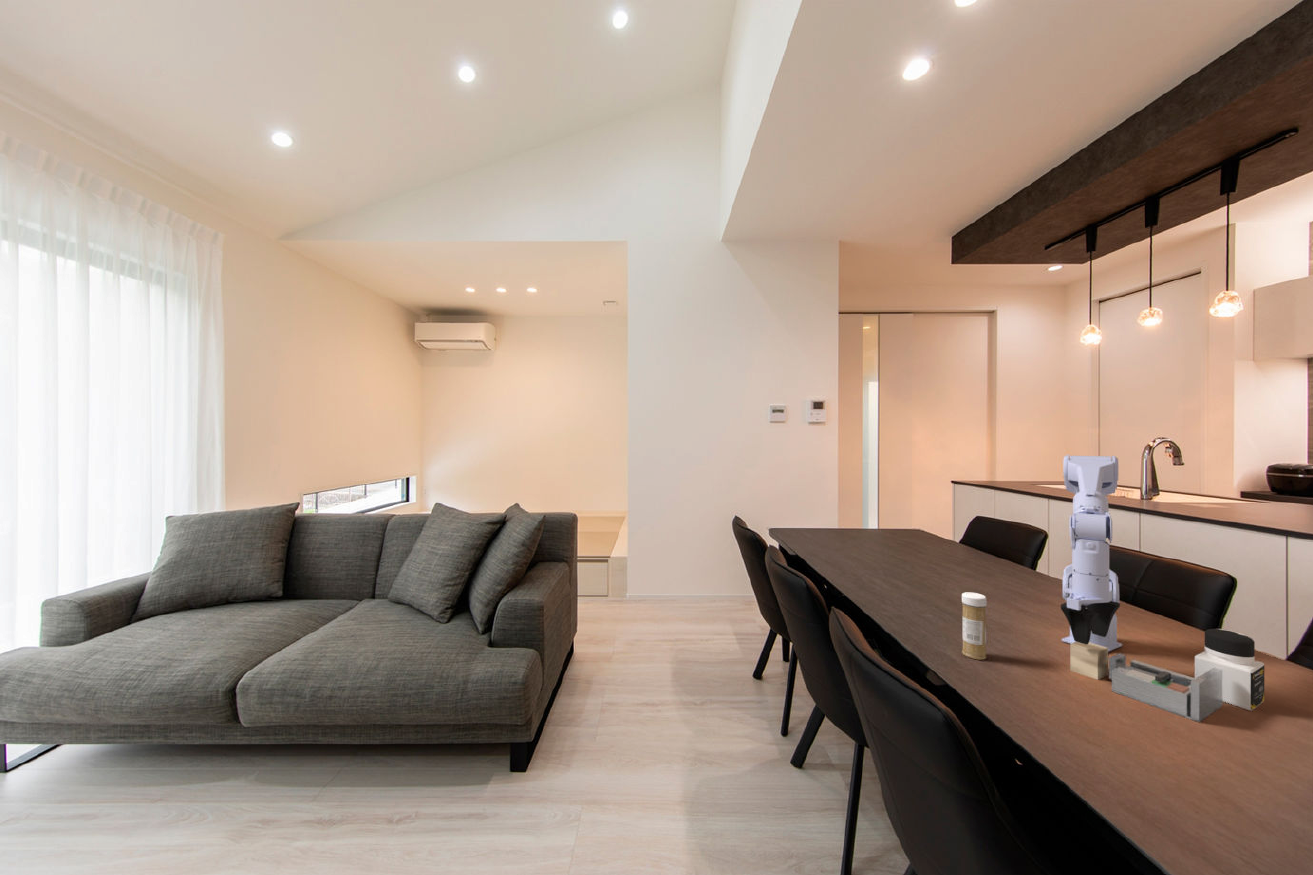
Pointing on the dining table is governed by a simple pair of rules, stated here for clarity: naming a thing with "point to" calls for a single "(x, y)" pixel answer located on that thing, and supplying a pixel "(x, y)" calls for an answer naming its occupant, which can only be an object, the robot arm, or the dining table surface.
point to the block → (1089, 659)
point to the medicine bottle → (1233, 667)
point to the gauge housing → (1171, 690)
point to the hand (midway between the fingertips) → (1090, 638)
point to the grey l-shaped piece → (1120, 661)
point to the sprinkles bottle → (974, 625)
